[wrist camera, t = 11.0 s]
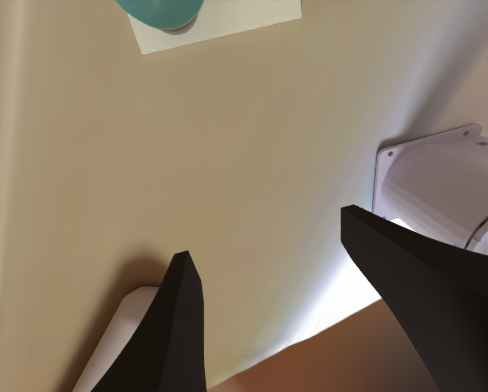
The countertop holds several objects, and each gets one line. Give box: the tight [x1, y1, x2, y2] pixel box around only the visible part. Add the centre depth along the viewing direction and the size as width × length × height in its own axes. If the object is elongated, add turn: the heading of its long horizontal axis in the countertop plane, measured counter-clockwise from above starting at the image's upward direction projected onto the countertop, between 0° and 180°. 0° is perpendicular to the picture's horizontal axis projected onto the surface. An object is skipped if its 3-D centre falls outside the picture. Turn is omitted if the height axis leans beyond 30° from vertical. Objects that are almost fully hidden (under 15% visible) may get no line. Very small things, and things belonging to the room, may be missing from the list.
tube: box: [72, 286, 159, 392], centre depth 27 cm, size 5×5×25 cm
